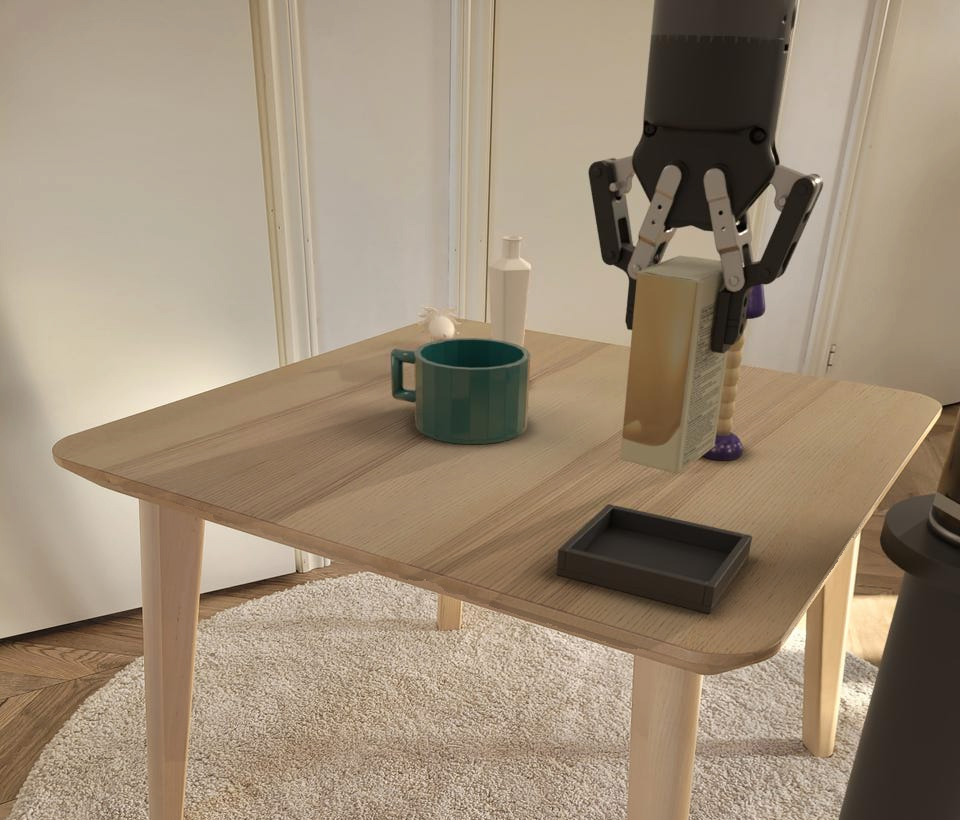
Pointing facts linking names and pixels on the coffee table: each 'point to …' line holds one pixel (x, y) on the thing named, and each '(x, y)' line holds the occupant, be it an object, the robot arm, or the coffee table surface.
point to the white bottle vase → (509, 293)
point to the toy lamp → (734, 387)
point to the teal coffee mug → (466, 389)
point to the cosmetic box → (674, 365)
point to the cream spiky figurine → (439, 323)
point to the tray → (655, 557)
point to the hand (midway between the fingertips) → (681, 342)
